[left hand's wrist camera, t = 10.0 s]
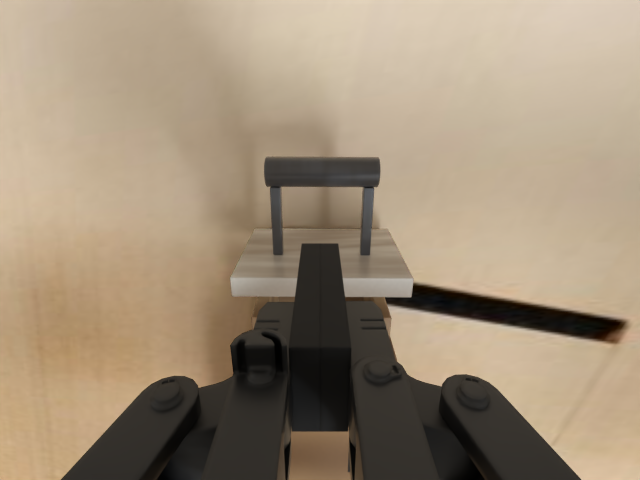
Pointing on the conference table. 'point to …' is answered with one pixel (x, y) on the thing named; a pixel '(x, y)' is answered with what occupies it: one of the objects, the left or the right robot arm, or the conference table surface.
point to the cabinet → (320, 455)
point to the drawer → (322, 239)
